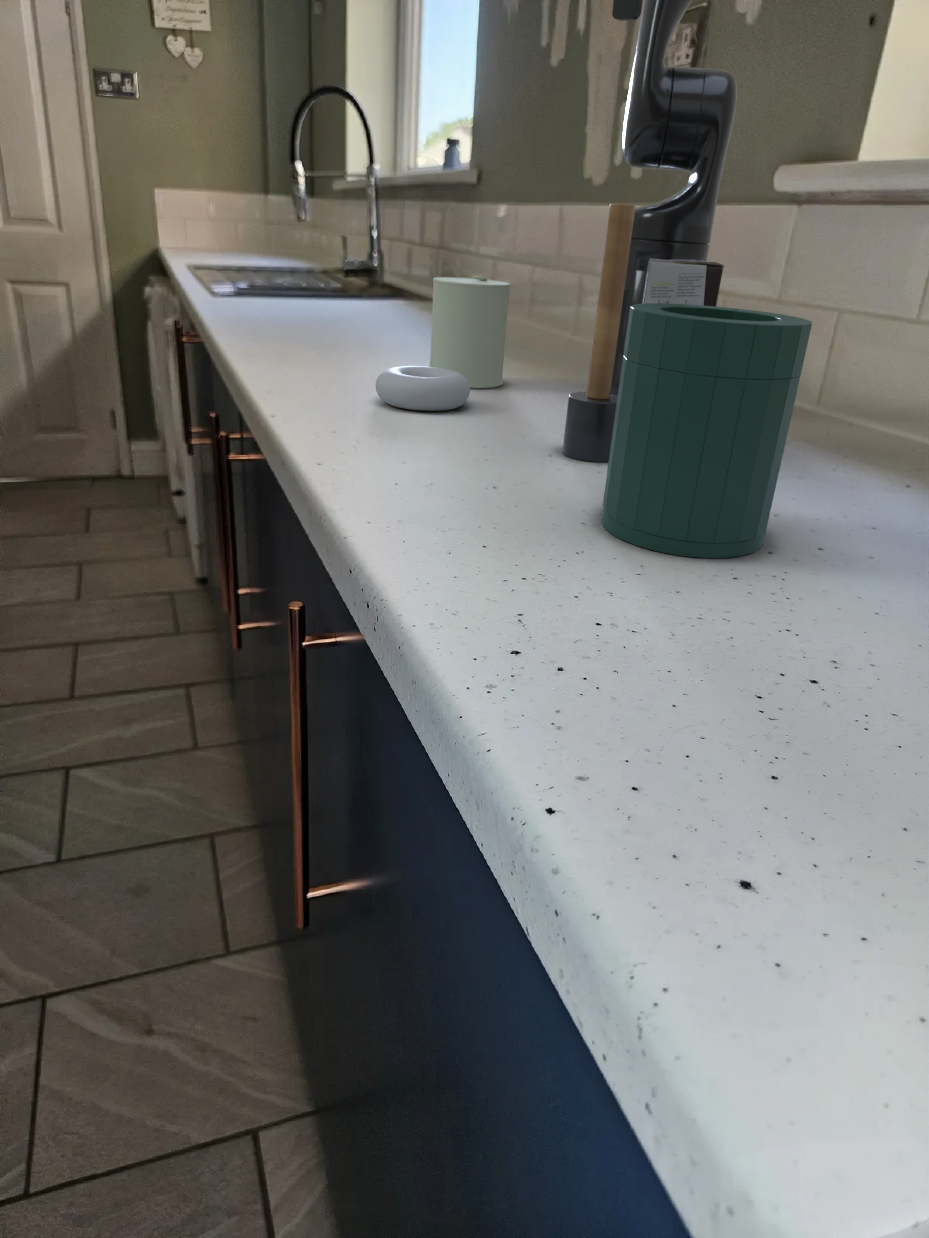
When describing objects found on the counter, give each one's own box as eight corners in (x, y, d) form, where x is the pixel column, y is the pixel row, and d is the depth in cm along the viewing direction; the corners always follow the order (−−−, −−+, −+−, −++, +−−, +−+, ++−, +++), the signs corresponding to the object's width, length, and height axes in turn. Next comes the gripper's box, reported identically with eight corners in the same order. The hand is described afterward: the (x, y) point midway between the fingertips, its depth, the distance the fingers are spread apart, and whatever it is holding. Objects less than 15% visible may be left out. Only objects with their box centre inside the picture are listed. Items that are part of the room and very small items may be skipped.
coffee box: (692, 453, 80) (725, 264, 73) (621, 445, 81) (648, 258, 74) (688, 432, 88) (718, 260, 81) (624, 425, 89) (649, 255, 82)
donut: (434, 420, 86) (487, 404, 94) (436, 385, 85) (489, 372, 92) (355, 404, 91) (411, 390, 98) (355, 370, 89) (412, 359, 97)
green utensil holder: (646, 496, 66) (677, 301, 60) (786, 532, 60) (835, 320, 54) (571, 526, 58) (598, 306, 52) (723, 571, 52) (773, 329, 46)
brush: (581, 444, 80) (610, 204, 72) (629, 456, 77) (665, 207, 69) (551, 453, 76) (579, 201, 68) (600, 465, 74) (635, 204, 65)
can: (512, 381, 109) (521, 278, 104) (488, 392, 101) (496, 281, 96) (444, 372, 112) (450, 271, 107) (415, 382, 104) (420, 274, 99)
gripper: (630, -226, 66) (602, 29, 73) (524, -318, 55) (503, -9, 62) (724, -249, 62) (685, 24, 69) (629, -352, 51) (594, -18, 58)
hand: (598, 8), depth 65 cm, fingers open, 8 cm apart
